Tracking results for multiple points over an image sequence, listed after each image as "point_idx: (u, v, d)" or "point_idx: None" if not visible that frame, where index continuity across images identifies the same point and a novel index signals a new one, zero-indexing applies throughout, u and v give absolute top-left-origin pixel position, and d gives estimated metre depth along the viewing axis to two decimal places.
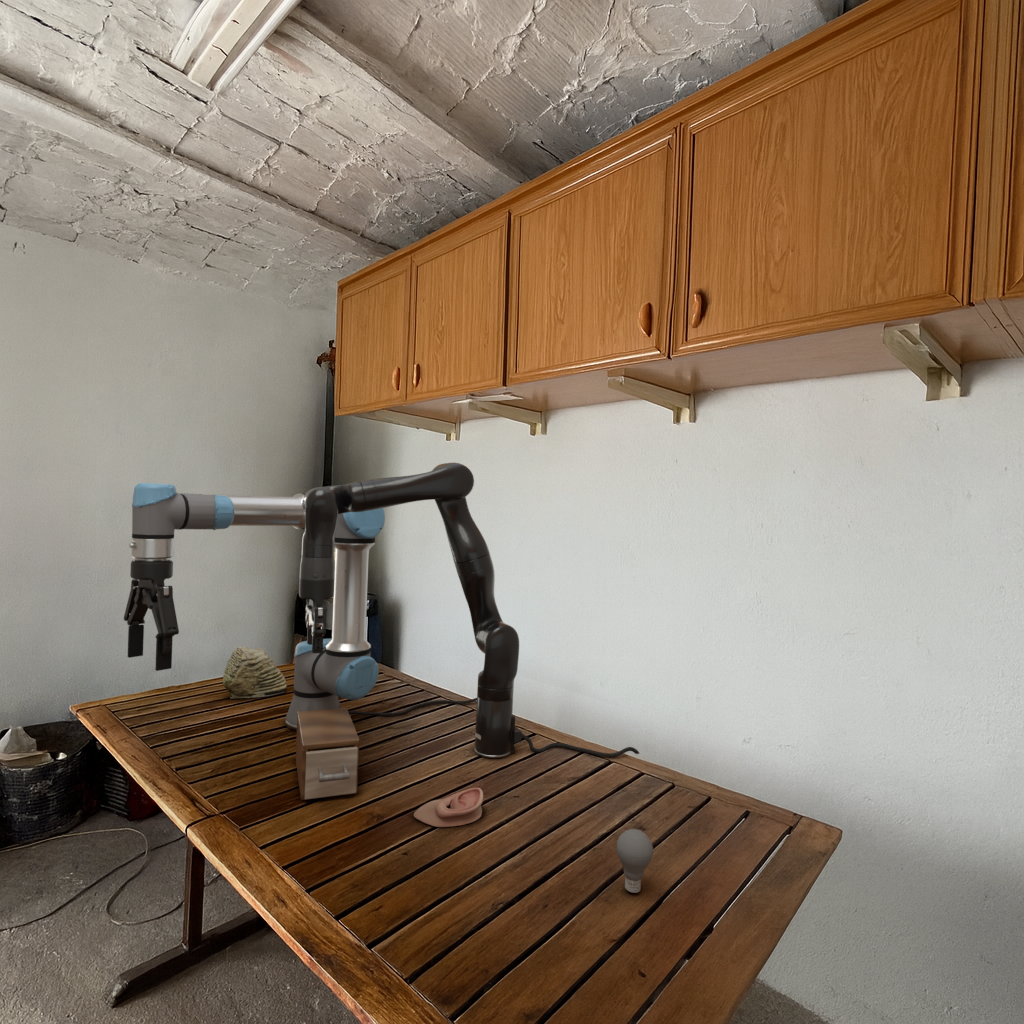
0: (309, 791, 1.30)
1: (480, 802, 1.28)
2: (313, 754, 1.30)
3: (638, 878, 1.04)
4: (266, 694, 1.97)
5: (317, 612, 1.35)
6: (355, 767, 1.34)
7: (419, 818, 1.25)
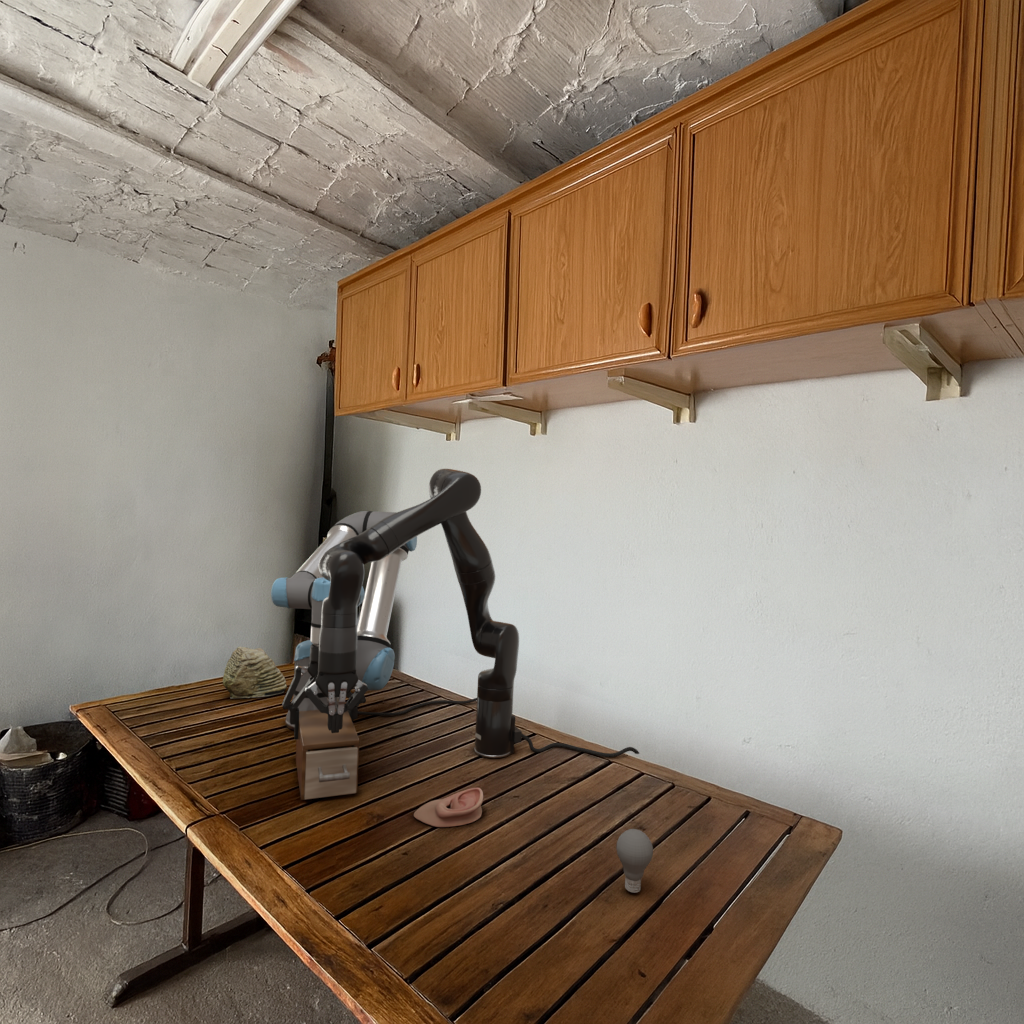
0: (309, 791, 1.30)
1: (480, 802, 1.28)
2: (313, 754, 1.30)
3: (638, 878, 1.04)
4: (266, 694, 1.97)
5: None
6: (355, 767, 1.34)
7: (419, 818, 1.25)
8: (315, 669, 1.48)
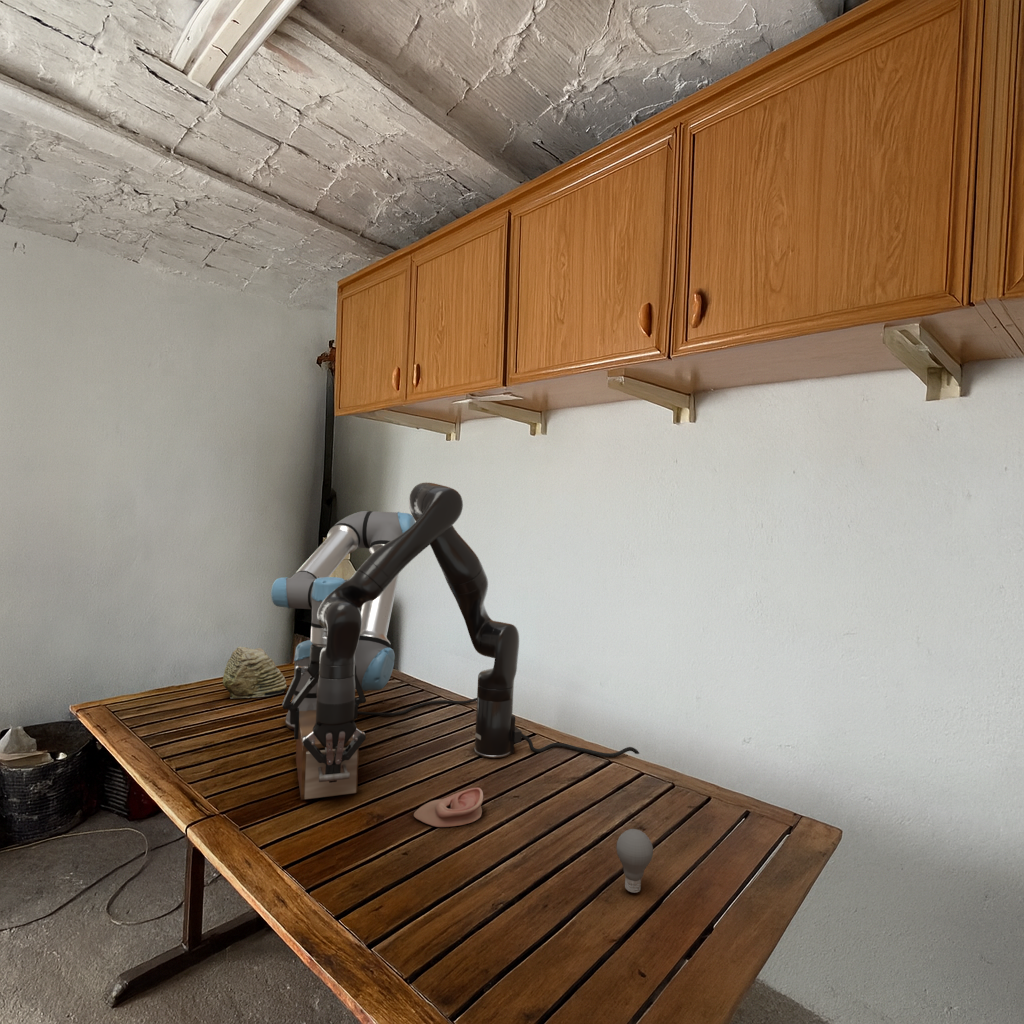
0: (309, 791, 1.31)
1: (480, 802, 1.28)
2: None
3: (638, 878, 1.04)
4: (266, 694, 1.97)
5: None
6: (355, 767, 1.34)
7: (419, 818, 1.25)
8: (315, 669, 1.48)
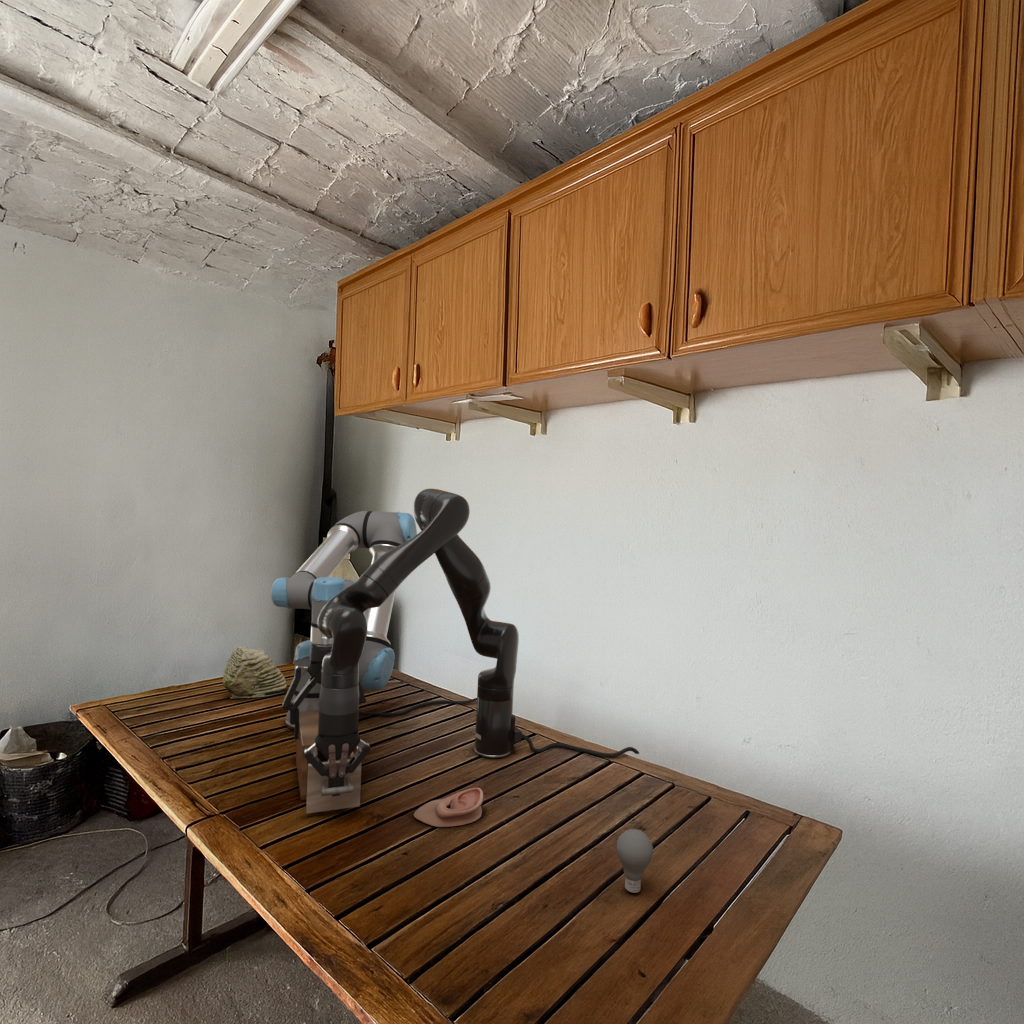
0: (311, 805, 1.25)
1: (480, 802, 1.28)
2: None
3: (638, 878, 1.04)
4: (266, 694, 1.97)
5: None
6: (359, 780, 1.28)
7: (419, 818, 1.25)
8: (315, 669, 1.48)
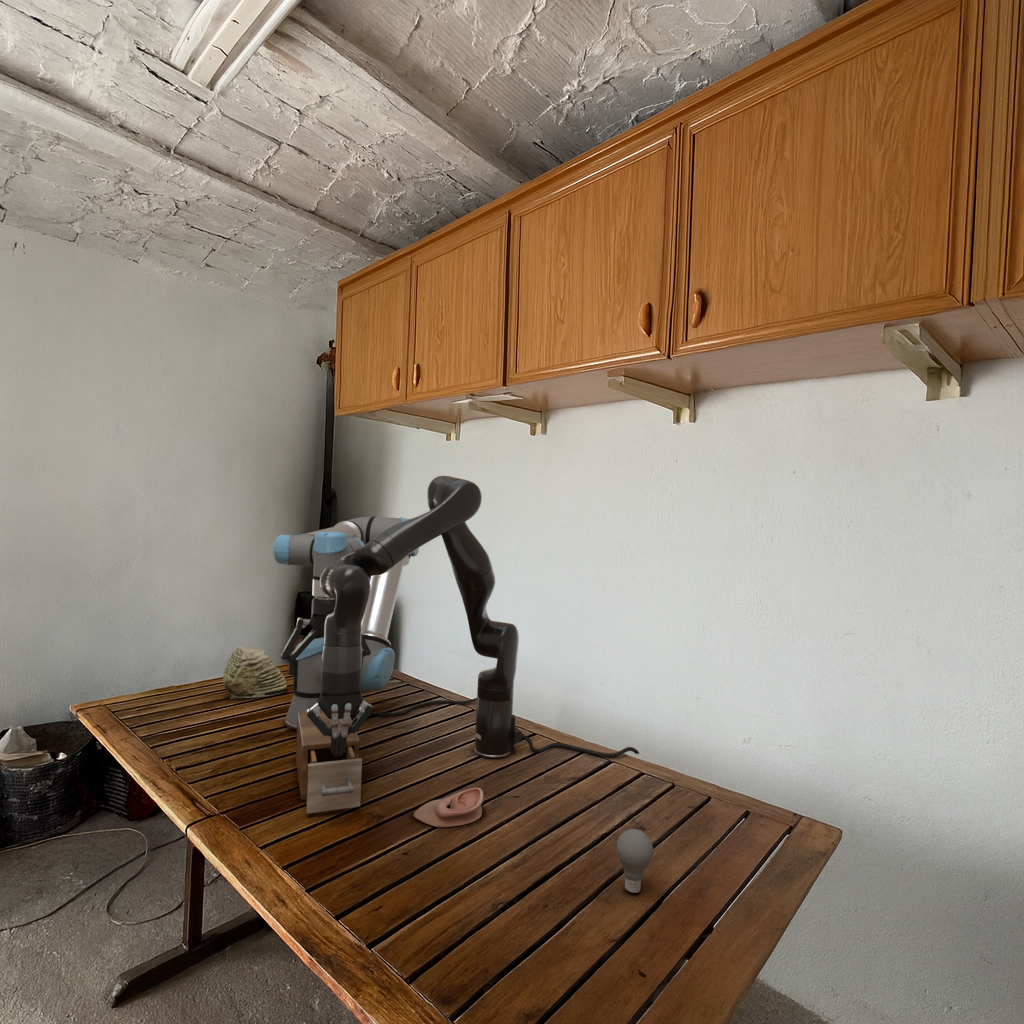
0: (311, 805, 1.25)
1: (480, 802, 1.28)
2: (315, 766, 1.25)
3: (638, 878, 1.04)
4: (266, 694, 1.97)
5: None
6: (360, 780, 1.28)
7: (419, 818, 1.25)
8: (317, 622, 1.47)
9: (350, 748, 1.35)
